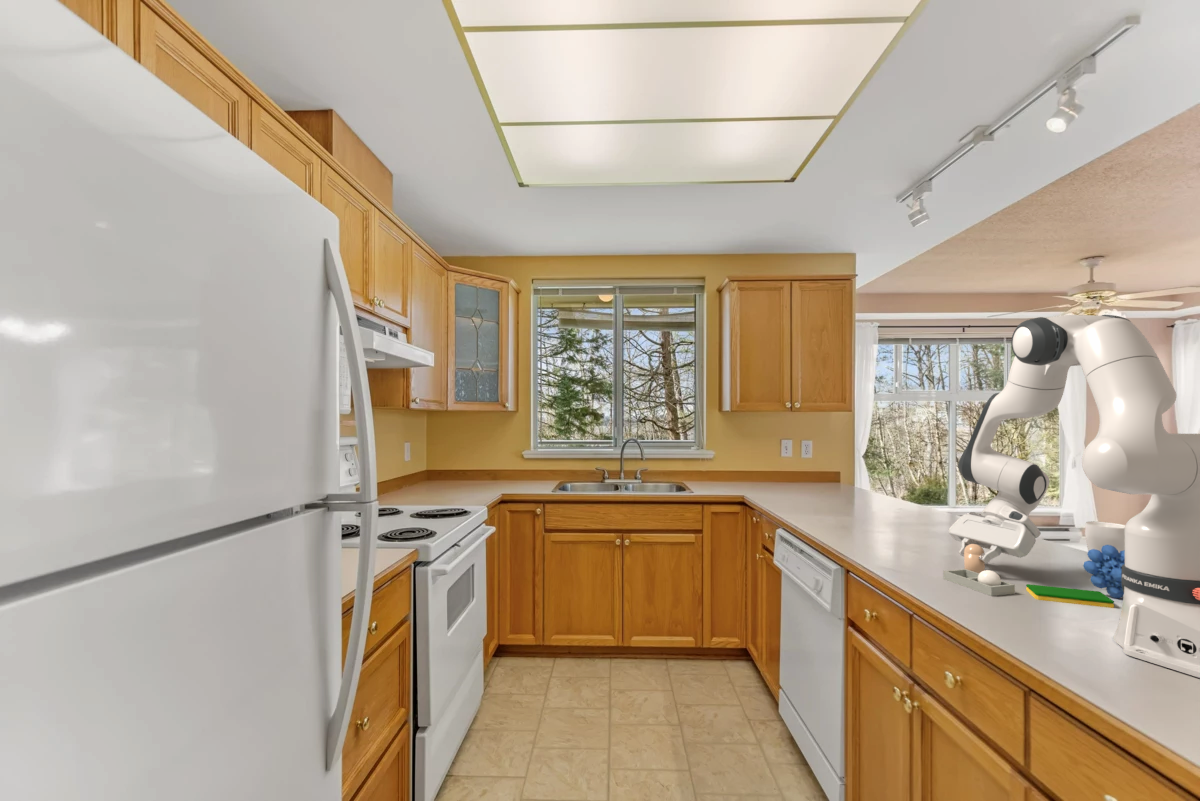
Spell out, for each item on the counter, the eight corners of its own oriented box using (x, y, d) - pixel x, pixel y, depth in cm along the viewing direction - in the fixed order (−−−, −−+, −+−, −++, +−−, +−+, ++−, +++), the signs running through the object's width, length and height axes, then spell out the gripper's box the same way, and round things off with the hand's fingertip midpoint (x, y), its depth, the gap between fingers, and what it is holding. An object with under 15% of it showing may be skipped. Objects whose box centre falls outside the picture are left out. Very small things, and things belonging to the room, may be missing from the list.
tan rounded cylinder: (989, 577, 142) (988, 545, 142) (975, 579, 141) (975, 546, 141) (973, 572, 146) (973, 541, 146) (960, 573, 145) (960, 542, 145)
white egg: (1006, 592, 129) (1006, 572, 129) (990, 594, 128) (990, 574, 128) (988, 586, 134) (988, 567, 134) (972, 587, 133) (972, 568, 133)
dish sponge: (1114, 612, 119) (1114, 601, 119) (1036, 603, 125) (1036, 592, 125) (1100, 601, 126) (1100, 591, 126) (1025, 593, 131) (1025, 583, 131)
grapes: (1087, 598, 126) (1086, 546, 127) (1081, 590, 132) (1080, 540, 132) (1157, 608, 120) (1157, 553, 120) (1148, 599, 126) (1148, 546, 126)
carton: (1014, 595, 128) (1014, 584, 128) (991, 598, 127) (991, 587, 127) (965, 578, 141) (965, 568, 141) (943, 580, 139) (943, 570, 139)
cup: (1088, 562, 156) (1088, 519, 156) (1133, 570, 149) (1132, 525, 149) (1081, 568, 150) (1081, 524, 150) (1127, 576, 143) (1127, 529, 143)
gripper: (960, 503, 156) (932, 540, 153) (1033, 517, 136) (1002, 560, 133) (973, 518, 157) (945, 555, 154) (1047, 535, 137) (1017, 577, 134)
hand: (972, 558), depth 143 cm, fingers closed on tan rounded cylinder, 4 cm apart
